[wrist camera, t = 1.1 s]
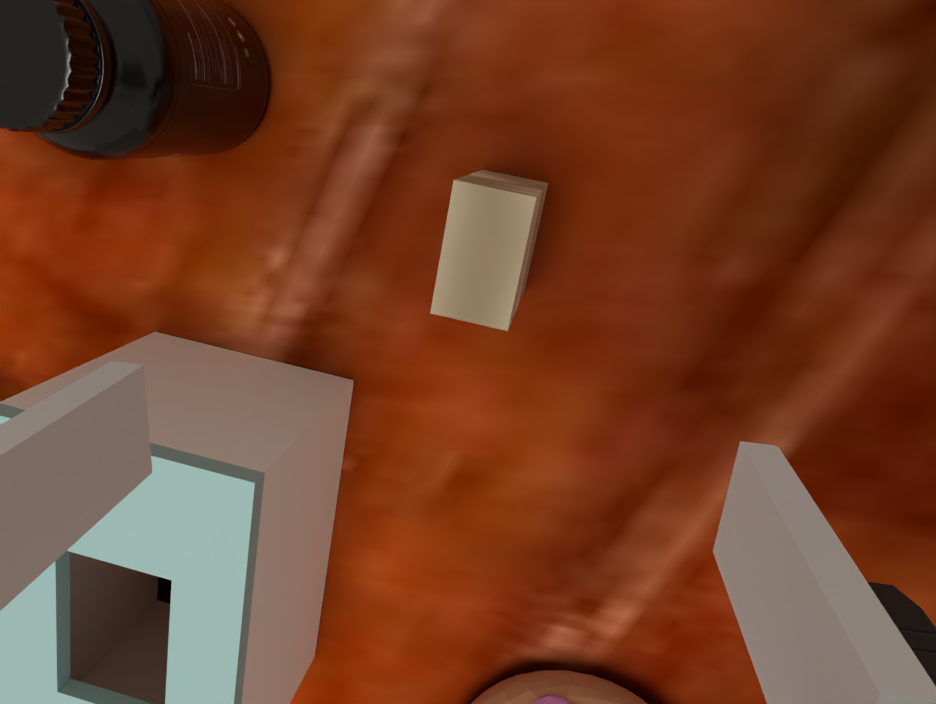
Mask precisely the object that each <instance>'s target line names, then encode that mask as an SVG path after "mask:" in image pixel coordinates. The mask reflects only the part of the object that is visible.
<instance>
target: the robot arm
mask: <svg viewBox="0 0 936 704" xmlns="http://www.w3.org/2000/svg"><path fill="white" fill-rule="evenodd" d="M151 473H152V461H151V449H150V437H149V425H148V412H147V400H146V388H145V376H144V365H139V364H131V363H123V362H116V361H110V362H109V363H107V364H105V365H103V366H102V367H100V368H98V369H96V370H95V371H93V372H91V373H90V374H88V375H86V376H84V377H83V378H81V379H79V380H77V381H76V382H74V383H72V384H70V385H69V386H67V387H65V388H63V389H62V390H60V391H58V392H56V393H55V394H53V395H51V396H50V397H48V398H46V399H44V400H43V401H41V402H39V403H37V404H36V405H34V406H32V407H30V408H29V409H27V410H25V411H23V412H22V413H20V414H18V415H17V416H15V417H13V418H11V419H10V420H8V421H6V422H4V423H3V424H1V425H0V611H1V610H2V609H3V608H4V607H5V606H7V605H8V604H9V603H10V602H11V601H12V600H13V599H14V598H15V597H16V596H17V595H19V594H20V593H21V592H22V591H23V590H24V589H25V588H26V587H27V586H28V585H30V584H31V583H32V582H33V581H34V580H35V579H36V578H37V577H38V576H39V575H41V574H42V573H43V572H44V571H45V570H46V569H47V568H48V567H49V566H50V565H51V564H53V563H54V562H55V561H56V560H57V559H58V558H59V557H60V556H61V555H62V554H64V553H65V552H66V551H67V550H68V549H69V548H70V547H71V546H72V545H73V544H75V543H76V542H77V541H78V540H79V539H80V538H81V537H82V536H83V535H84V534H85V533H87V532H88V531H89V530H90V529H91V528H92V527H93V526H94V525H95V524H96V523H98V522H99V521H100V520H101V519H102V518H103V517H104V516H105V515H106V514H107V513H108V512H110V511H111V510H112V509H113V508H114V507H115V506H116V505H117V504H118V503H119V502H121V501H122V500H123V499H124V498H125V497H126V496H127V495H128V494H129V493H130V492H132V491H133V490H134V489H135V488H136V487H137V486H138V485H139V484H140V483H141V482H142V481H144V480H145V479H146V478H147V477H148V476H149V475H150V474H151ZM713 553H714V556H715V559H716V562H717V564H718V567H719V570H720V573H721V576H722V579H723V581H724V584H725V587H726V590H727V593H728V595H729V598H730V601H731V604H732V607H733V609H734V612H735V615H736V618H737V621H738V623H739V626H740V629H741V632H742V635H743V637H744V640H745V643H746V646H747V649H748V651H749V654H750V657H751V660H752V663H753V665H754V668H755V671H756V674H757V677H758V679H759V682H760V685H761V688H762V691H763V694H764V696H765V699H766V702H767V704H936V628H935V626H934V625H933V624H932V622H931V621H930V619H929V618H928V617H927V615H926V614H925V613H924V611H923V610H922V609H921V608H920V607H919V606H918V605H916V604H915V603H914V602H913V601H912V600H910V599H909V598H908V597H907V596H905V595H904V594H903V593H902V592H900V591H899V590H898V589H897V588H896V587H894V586H893V585H886V584H879V583H872V582H867V581H866V580H865V578H864V577H863V575H862V574H861V572H860V571H859V569H858V568H857V566H856V564H855V563H854V561H853V560H852V558H851V557H850V555H849V554H848V552H847V551H846V549H845V548H844V546H843V545H842V543H841V542H840V540H839V539H838V537H837V536H836V534H835V533H834V531H833V529H832V528H831V526H830V525H829V523H828V522H827V520H826V519H825V517H824V516H823V514H822V513H821V511H820V510H819V508H818V507H817V505H816V504H815V502H814V501H813V499H812V498H811V496H810V495H809V493H808V491H807V490H806V488H805V487H804V485H803V484H802V482H801V481H800V479H799V478H798V476H797V475H796V473H795V472H794V470H793V469H792V467H791V466H790V464H789V463H788V461H787V460H786V458H785V457H784V455H783V453H782V452H781V450H780V449H779V447H778V446H774V445H766V444H758V443H750V442H743V441H740V443H739V447H738V452H737V456H736V460H735V464H734V468H733V472H732V476H731V480H730V484H729V488H728V492H727V496H726V500H725V504H724V508H723V512H722V516H721V520H720V524H719V528H718V532H717V536H716V540H715V544H714V548H713Z"/></svg>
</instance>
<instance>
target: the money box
mask: <svg viewBox="0 0 936 704" xmlns="http://www.w3.org/2000/svg"><path fill="white" fill-rule="evenodd" d="M110 361H116V362H123V363H131V364H139V365H144V376H145V388H146V400H147V412H148V425H149V437H150V449H151V461H152V473H151V474H150V475H149V476H148V477H147V478H146V479H145V480H144V481H142V482H141V483H140V484H139V485H138V486H137V487H136V488H135V489H134V490H133V491H132V492H130V493H129V494H128V495H127V496H126V497H125V498H124V499H123V500H122V501H121V502H119V503H118V504H117V505H116V506H115V507H114V508H113V509H112V510H111V511H110V512H108V513H107V514H106V515H105V516H104V517H103V518H102V519H101V520H100V521H99V522H98V523H96V524H95V525H94V526H93V527H92V528H91V529H90V530H89V531H88V532H87V533H85V534H84V535H83V536H82V537H81V538H80V539H79V540H78V541H77V542H76V543H75V544H73V545H72V546H71V547H70V548H69V549H68V550H67V551H66V552H65V553H64V554H62V555H61V556H60V557H59V558H58V559H57V560H56V561H55V562H54V563H53V564H51V565H50V566H49V567H48V568H47V569H46V570H45V571H44V572H43V573H42V574H41V575H39V576H38V577H37V578H36V579H35V580H34V581H33V582H32V583H31V584H30V585H28V586H27V587H26V588H25V589H24V590H23V591H22V592H21V593H20V594H19V595H17V596H16V597H15V598H14V599H13V600H12V601H11V602H10V603H9V604H8V605H7V606H5V607H4V608H3V609H2V610H1V611H0V704H290V702H291V700H292V698H293V696H294V695H295V693H296V691H297V689H298V687H299V685H300V683H301V681H302V680H303V678H304V676H305V674H306V672H307V670H308V668H309V666H310V664H311V663H312V661H313V659H314V657H315V651H316V644H317V637H318V630H319V623H320V616H321V609H322V602H323V595H324V588H325V581H326V574H327V567H328V560H329V553H330V546H331V539H332V532H333V525H334V518H335V511H336V504H337V497H338V490H339V483H340V476H341V469H342V462H343V455H344V448H345V441H346V433H347V426H348V419H349V412H350V405H351V398H352V391H353V384H354V380H351V379H347V378H343V377H339V376H335V375H331V374H326V373H322V372H318V371H314V370H310V369H306V368H302V367H298V366H294V365H290V364H286V363H282V362H277V361H273V360H269V359H265V358H261V357H257V356H253V355H249V354H245V353H241V352H237V351H232V350H228V349H224V348H220V347H216V346H212V345H208V344H204V343H200V342H196V341H192V340H187V339H183V338H179V337H175V336H171V335H167V334H163V333H159V332H153V333H151V334H149V335H147V336H144V337H142V338H140V339H138V340H136V341H133V342H131V343H129V344H127V345H125V346H122V347H120V348H118V349H116V350H114V351H111V352H109V353H107V354H105V355H103V356H100V357H98V358H96V359H94V360H92V361H89V362H87V363H85V364H83V365H81V366H78V367H76V368H74V369H72V370H70V371H67V372H65V373H63V374H61V375H59V376H56V377H54V378H52V379H50V380H48V381H45V382H43V383H41V384H39V385H37V386H34V387H32V388H30V389H28V390H26V391H23V392H21V393H19V394H17V395H15V396H12V397H10V398H8V399H6V400H4V401H1V402H0V425H1V424H3V423H4V422H6V421H8V420H10V419H11V418H13V417H15V416H17V415H18V414H20V413H22V412H23V411H25V410H27V409H29V408H30V407H32V406H34V405H36V404H37V403H39V402H41V401H43V400H44V399H46V398H48V397H50V396H51V395H53V394H55V393H56V392H58V391H60V390H62V389H63V388H65V387H67V386H69V385H70V384H72V383H74V382H76V381H77V380H79V379H81V378H83V377H84V376H86V375H88V374H90V373H91V372H93V371H95V370H96V369H98V368H100V367H102V366H103V365H105V364H107V363H109V362H110ZM158 577H161V578H165V579H168V580H172V583H171V601H170V604H169V603H166V602H162V601H159V600H157V595H158Z"/></svg>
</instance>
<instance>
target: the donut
mask: <svg viewBox="0 0 936 704" xmlns="http://www.w3.org/2000/svg"><path fill="white" fill-rule="evenodd" d="M471 704H648V703H646V702H645V701H644V700H642V699H641V698H639V697H638V696H636V695H635V694H633V693H632V692H630V691H629V690H627V689H625V688H623V687H621V686H619V685H617V684H615V683H613V682H611V681H608V680H605V679H602V678H599V677H596V676H593V675H588V674H583V673H578V672H573V671H567V670H549V671H535V672H530V673H524V674H519V675H516V676H513V677H511V678H508V679H505V680H503V681H500V682H499V683H497V684H495V685H494V686H492V687H491V688H489V689H487V690H486V691H485V692H483V693H482V694H481V695H480V696H479V697H478V698H477V699H475V700H474V701H473V702H472V703H471Z"/></svg>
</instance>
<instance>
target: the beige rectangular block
mask: <svg viewBox="0 0 936 704" xmlns="http://www.w3.org/2000/svg"><path fill="white" fill-rule="evenodd" d="M547 187H548V183H546V182H541V181H536V180H532V179H527V178H522V177H517V176H512V175H507V174H503V173H498V172H493V171H488V170H480V171H477V172H474V173H472V174H469V175H466V176H463V177H460V178H458V179H455V180H454V181H453V187H452V192H451V198H450V204H449V209H448V215H447V221H446V227H445V232H444V238H443V244H442V249H441V255H440V261H439V267H438V272H437V278H436V284H435V289H434V295H433V301H432V306H431V312H430V313H431V314H436V315H440V316H444V317H449V318H453V319H457V320H462V321H466V322H470V323H475V324H479V325H483V326H488V327H492V328H496V329H501V330H505V331H508V329H509V327H510V324H511V322H512V319H513V317H514V315H515V312H516V310H517V308H518V305H519V303H520V300H521V298H522V296H523V293H524V291H525V287H526V282H527V278H528V273H529V269H530V264H531V260H532V255H533V251H534V246H535V241H536V237H537V232H538V228H539V223H540V219H541V214H542V210H543V205H544V201H545V196H546V192H547Z"/></svg>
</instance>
